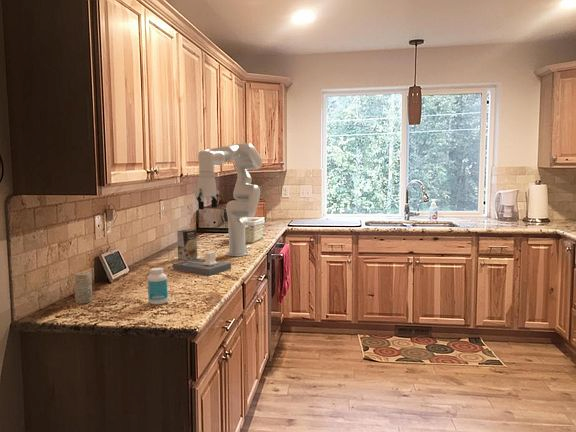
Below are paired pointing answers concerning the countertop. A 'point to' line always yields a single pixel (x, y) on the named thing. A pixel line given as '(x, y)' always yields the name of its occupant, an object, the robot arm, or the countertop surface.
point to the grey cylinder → (83, 287)
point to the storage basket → (253, 228)
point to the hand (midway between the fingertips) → (207, 208)
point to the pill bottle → (157, 287)
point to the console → (201, 266)
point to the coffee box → (187, 244)
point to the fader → (210, 258)
